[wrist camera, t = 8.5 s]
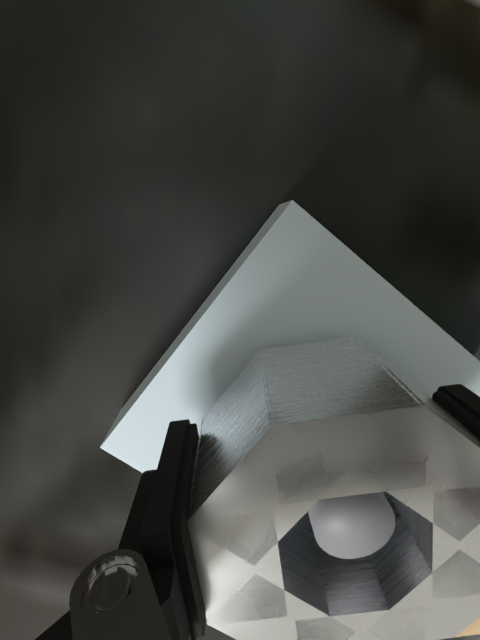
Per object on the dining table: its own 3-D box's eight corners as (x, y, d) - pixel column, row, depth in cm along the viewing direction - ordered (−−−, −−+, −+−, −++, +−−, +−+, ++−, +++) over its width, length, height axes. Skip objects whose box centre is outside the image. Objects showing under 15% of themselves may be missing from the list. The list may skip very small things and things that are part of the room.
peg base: (120, 409, 14) (32, 569, 8) (279, 204, 12) (340, 184, 6) (306, 526, 16) (362, 732, 10) (467, 364, 14) (672, 484, 8)
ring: (190, 358, 10) (164, 437, 7) (422, 326, 10) (535, 390, 6) (224, 539, 12) (219, 685, 8) (422, 516, 12) (509, 653, 8)
